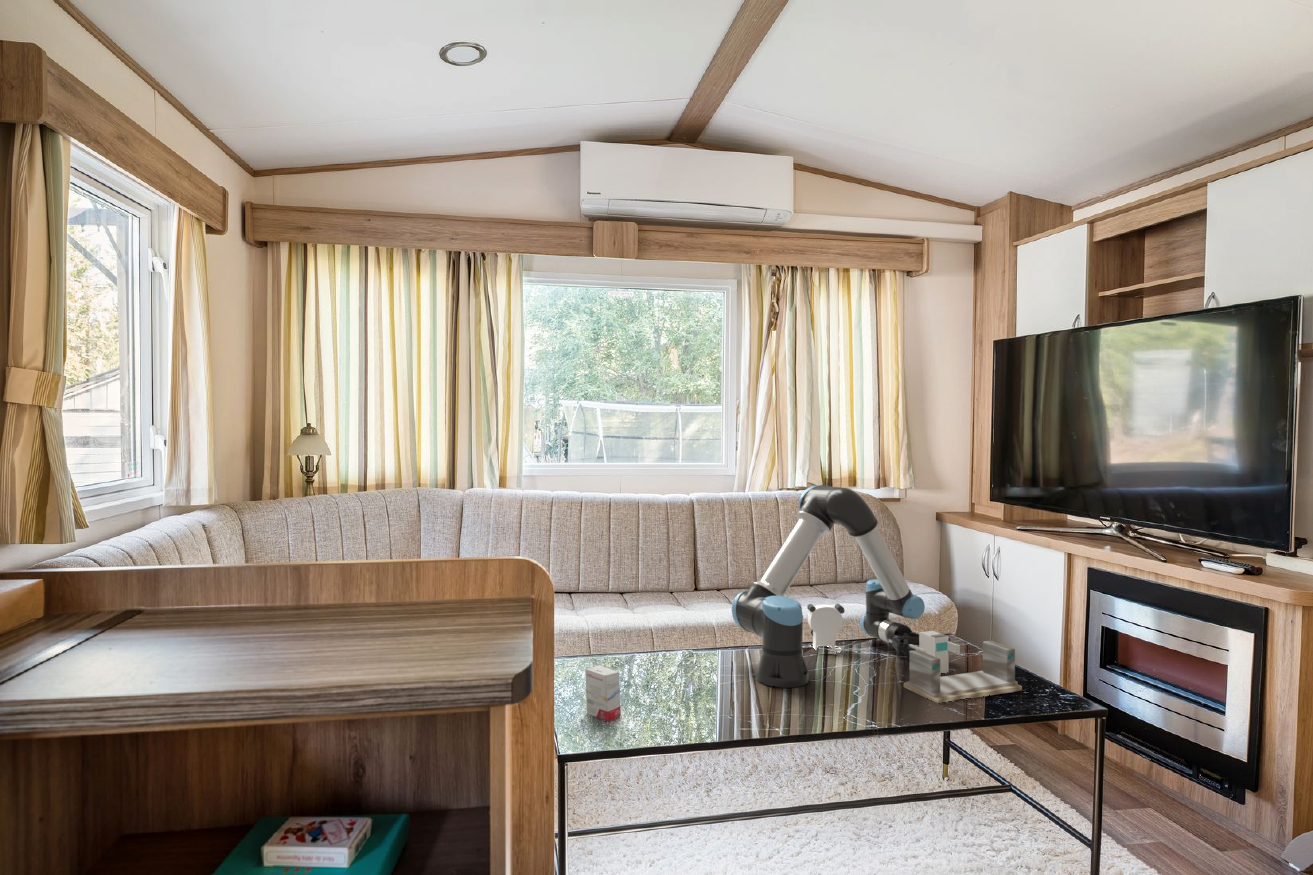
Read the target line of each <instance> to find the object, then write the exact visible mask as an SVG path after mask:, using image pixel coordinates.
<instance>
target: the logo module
mask: <svg viewBox="0 0 1313 875" xmlns="http://www.w3.org/2000/svg"><path fill="white" fill-rule="evenodd" d="M918 634H919V646H918V647H920V648H922V649H924V650H926V653H927V654H929V655H932V656H934V657H937V658H939V659H940V675H942V674H941V673H945V674H948V673H949V651H948V638H949V636H948V635H946V634H945V633H940V632H938V631H935V630H929V631H919V632H918ZM947 672H948V673H947Z"/></svg>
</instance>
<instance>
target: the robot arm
mask: <svg viewBox="0 0 1313 875" xmlns="http://www.w3.org/2000/svg"><path fill="white" fill-rule="evenodd" d="M798 504H799V505H798V509H799V510H798V512H797V517H798V521H797V523H796V524H795V526H794V527H793V528H792V529H791V531H790V533H789V535H788V537H787V538H786V539H785V541H784V543H783V544H782V545H781V547H780V549H779V550H778V551H777V554H776V555H775V556H774V558H773V560H772V562H771V563H770V565H769V566H768V567H767V569H766V571H765V573H764V574H763V576H762V578H761V579H760V580H759V581H755V582H754V581H753V582H752V584H751V585H750V587H749V589H748V590H744V591H741V592H738V594H737V595H736V596H735V597H734V599H733V601H732V604H731V615H732V616H731V617H732V618H733V621H734V623H735V624H736V625H737V626H738V627H740V628H741V629H743V630H744V631H745V632H749V633H751V634H754V635H756V636H759V637H761V638H762V642H761V643H762V646H761V647H762V650H761V651H762V652H761V656H760V660H759V661H758V664H757V665H758V666H757V669H756V680H757V682H759V683H760V682H762V683H763V685H766V686H769V687H773V686H775V688H783V689H784V688H787V689H788V688H790V689H791V688H799V687H802V686H805V685H807V684H808V683H809V681H810V680H809V679H810V678H809V677H810V674H809V671H808V667H807V665H806V661H805V658H804V654H803V628H804V626H803V620H804V615H803V608H802V605H801V603H800V602H799V601H798V600H796V599H794V598H792V597H788V596H785V595H786V593H787V591H788V590H789V588H790V586H791V585H792V583H793V582H794V580H795V579H796V577H797V576H798V574H799V572H800V571H801V569H802V567H803V565H804V564H805V563H806V561H807V559H808V557H809V556H810V554H811V553H812V551H813V550H814V548H815V546H816V545H817V543H818V542H819V540H820V538H821V537H822V536H823V535H828V534H829V533H830V532H831V530H832V529H833V527H834V525H835V524H836V525H840V526H842V527H843V528H845V530H846V532H847V533H848V535H849V536H850V537H851V538H855V541H856V542H857V544H858V546H859V548H860V550H861V552H862V554H863V555H864V556H865V559H866V560H867V563H868V565H869V566H870V569H871V570H872V571H873V573H874V576H875V577H876V578H873V579H869V580H866V583H865V584H866V586H865V608H866V609H865V611H866V612H865V613H863V615H861V618H860V620H859V627H860V630H861V631H862V632H863V633H864V634H866V635H868V636H870V637H872V638H874V639H877V640H880V641H882V642H884V643H887V644H888V645H889V646H892V648H894V650H895V651H896V652H897V653H898V654H902V653H903V655H904V656H909V651H913V650H920V651H922V652H925V653H926V650H924V649H922V648H920V647H919V633H916V632H914V631H912V630H911V628H910V626H908V625H906V624H903V623H902V622H901V623H900V622H899V621H896V620H893V619H890V614H894V615H896V616H899V617H902V618H904V619H911V620H918V619H919V618H921V617H922V615H923V614H924V613H925V608H926V607H925V601H924V600H923V598H922V597H920V596H919V595H916V594H913V592H912V590H911V589H910V587H909V585H908V583H907V581H906V579H905V577H904V575H903V574H902V571H901V570H900V568H899V566H898V564H897V562H896V560H895V558H894V556H893V555H892V553H891V551H890V548H889V547H888V545H887V543H886V541H885V540H884V538H883V536H882V534H881V532H880V531H879V528H878V525H879V522H878V519H877V518H876V515H875V514H874V512H873V510H872V509H871V507H870V506H869V505H868V503H867V502H866V501H865V499H863V497H862V496H860V495H859V493H857V492H856V491H854V490H852V489H850V488H848V487H838V486H829V485H824V484H819V485H811V486H810V487H809V486H808V487H807V488H806V489H805V490H804V491H803V492H802V493H801V495H800V497H799V500H798ZM948 652H950V653H953V654H955V655H957V656H959V655H961V645H959V644H957V643H955V642H952V641H951V638H949V637H948ZM762 683H761V684H762Z"/></svg>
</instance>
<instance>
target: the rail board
mask: <svg viewBox="0 0 1313 875" xmlns="http://www.w3.org/2000/svg"><path fill="white" fill-rule="evenodd" d="M908 655H909V681H907V682H904V683H903V688H904V689H907V690H909V691H911V692H913V693H915V694H917V695H919V696H921V697H923V698H925V699H927V698H928V700H929V701H931V700H932V701H931V702H933V701H934V703H935V702H937V703H939V702H946V703H949V702H948V701H952V702H954V701H953V700H958V699H965V698H971V699H978V698H981V697H983V696H984V697H988V696H989V695H990V696H994V695H1001V694H1008V693H1014V692H1020V691H1023V686H1022V685H1021V684H1018V681H1017V680H1016V662H1015V661H1016V649H1015V648H1014V647H1011V646H1008V645H1005V644H1002V643H999V642H996V641H993V640H985V641H982V670H978V671H972V672H965V673H959V674H951V675H945V676H941V674H940V659H939V658H937V657H934V656H932V655H929V654H927V653H925V652H922V651H920V650H913V651H909V652H908ZM965 700H966V699H965ZM937 703H936V704H937Z"/></svg>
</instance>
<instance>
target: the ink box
mask: <svg viewBox="0 0 1313 875" xmlns="http://www.w3.org/2000/svg"><path fill="white" fill-rule="evenodd" d="M584 670H585V694H586V696H585V697H586V698H585V699H586V700H585V701H586V702H585V703H586V714H587V715H590V716H591V717H594V718H597V719H600V720H603V721H605V722H610V721H613V720H615V719H618V718H620V717H621V715H622V714H621V692H620V690H621V689H620V688H621V686H620V671H617V670H614V669H612V668H610V667H606V666H603V665H600V664H599V665H595V666H592V667H588V668H586V669H584Z"/></svg>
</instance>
